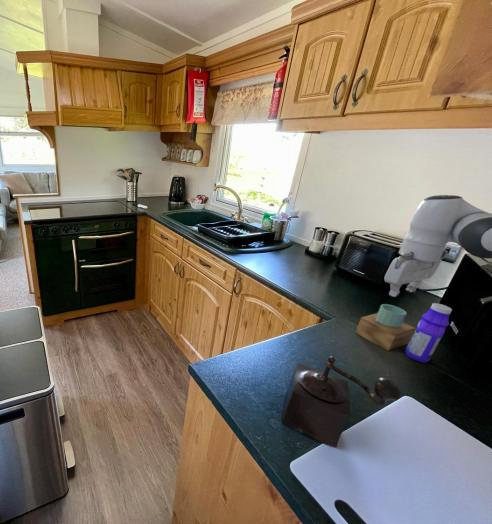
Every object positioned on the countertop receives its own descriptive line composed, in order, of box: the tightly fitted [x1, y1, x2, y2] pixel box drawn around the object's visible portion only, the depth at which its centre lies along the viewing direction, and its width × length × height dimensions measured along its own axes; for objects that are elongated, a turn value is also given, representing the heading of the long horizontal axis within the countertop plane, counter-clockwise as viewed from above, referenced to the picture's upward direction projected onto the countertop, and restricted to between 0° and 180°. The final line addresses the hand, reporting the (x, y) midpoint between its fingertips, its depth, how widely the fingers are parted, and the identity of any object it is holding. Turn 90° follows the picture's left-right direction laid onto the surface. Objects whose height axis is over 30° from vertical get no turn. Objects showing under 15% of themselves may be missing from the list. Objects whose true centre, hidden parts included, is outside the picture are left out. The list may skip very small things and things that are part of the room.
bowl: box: [376, 303, 408, 328], centre depth 92 cm, size 6×6×5 cm
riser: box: [354, 312, 416, 352], centre depth 94 cm, size 10×11×6 cm
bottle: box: [404, 302, 453, 364], centre depth 84 cm, size 7×6×17 cm
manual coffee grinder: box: [280, 355, 402, 448], centre depth 59 cm, size 16×11×18 cm
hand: (401, 293), depth 89 cm, fingers open, 8 cm apart
